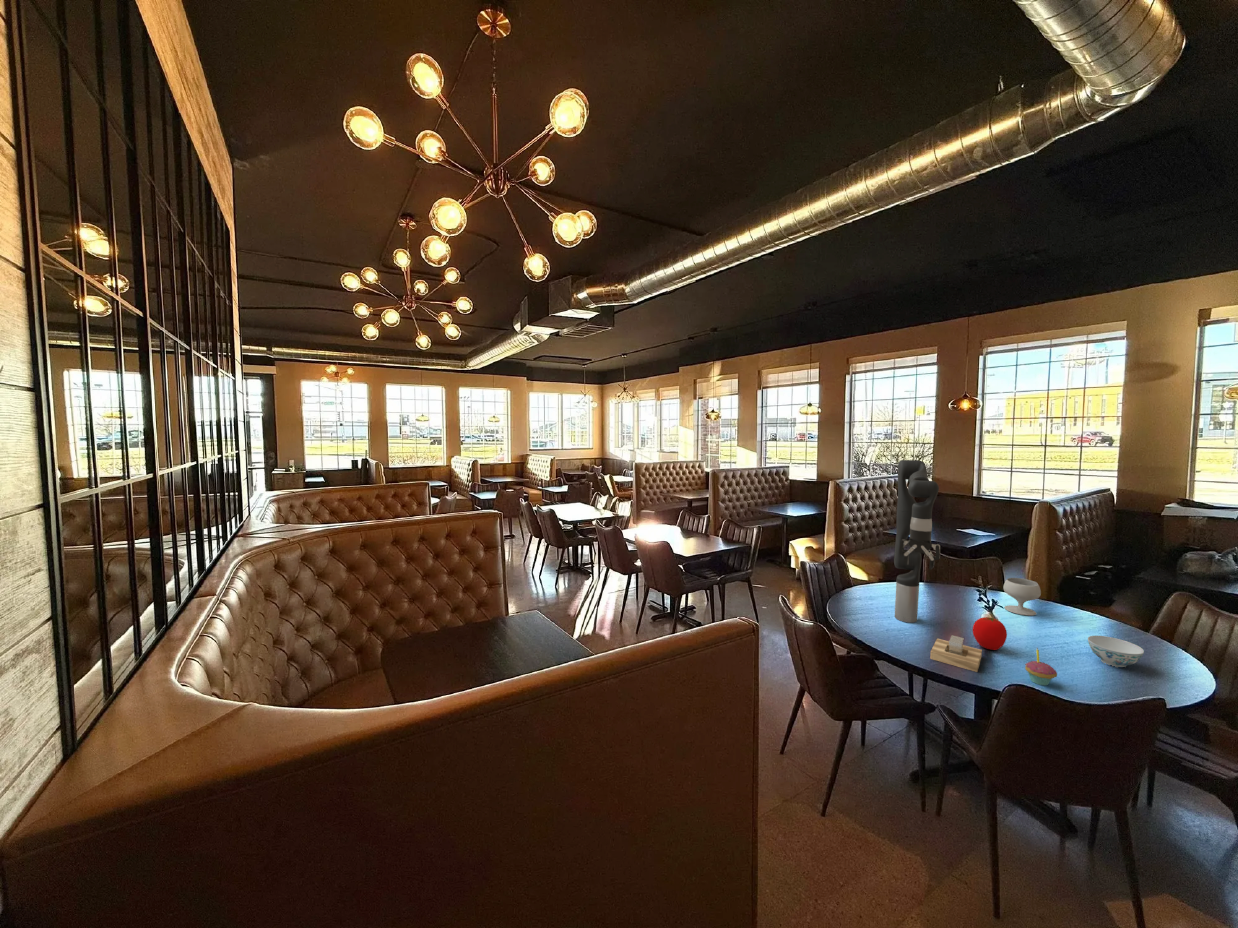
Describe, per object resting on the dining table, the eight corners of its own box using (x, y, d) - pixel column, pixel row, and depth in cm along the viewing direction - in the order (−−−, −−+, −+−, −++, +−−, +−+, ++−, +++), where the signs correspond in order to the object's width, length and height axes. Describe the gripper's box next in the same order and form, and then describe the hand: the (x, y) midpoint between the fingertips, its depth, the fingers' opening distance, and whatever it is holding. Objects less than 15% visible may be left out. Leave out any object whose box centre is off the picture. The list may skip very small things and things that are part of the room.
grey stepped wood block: (950, 652, 193) (951, 635, 192) (962, 656, 190) (963, 638, 190) (947, 659, 188) (949, 641, 187) (960, 662, 185) (961, 644, 184)
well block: (936, 645, 200) (937, 638, 199) (981, 657, 190) (982, 649, 189) (930, 658, 188) (930, 651, 188) (977, 672, 178) (977, 664, 178)
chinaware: (1084, 650, 195) (1085, 632, 194) (1137, 661, 185) (1139, 642, 185) (1088, 664, 183) (1090, 645, 183) (1145, 678, 174) (1148, 657, 173)
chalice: (1035, 609, 236) (1038, 580, 235) (1041, 619, 224) (1044, 588, 223) (1000, 603, 244) (1002, 575, 242) (1003, 613, 232) (1006, 583, 230)
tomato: (991, 656, 190) (994, 625, 189) (965, 643, 201) (967, 614, 200) (1012, 652, 193) (1015, 621, 192) (986, 640, 204) (988, 611, 203)
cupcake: (1017, 676, 176) (1020, 644, 174) (1039, 675, 176) (1041, 643, 175) (1040, 689, 167) (1043, 656, 166) (1062, 688, 168) (1065, 655, 167)
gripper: (942, 529, 195) (940, 567, 197) (903, 524, 205) (901, 561, 206) (939, 532, 190) (937, 572, 191) (899, 527, 199) (897, 565, 201)
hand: (918, 566), depth 199 cm, fingers open, 8 cm apart
